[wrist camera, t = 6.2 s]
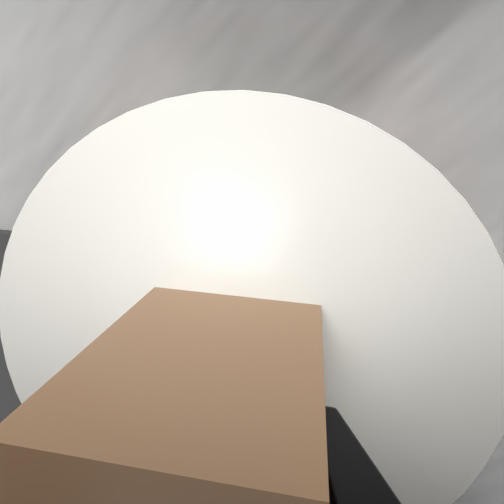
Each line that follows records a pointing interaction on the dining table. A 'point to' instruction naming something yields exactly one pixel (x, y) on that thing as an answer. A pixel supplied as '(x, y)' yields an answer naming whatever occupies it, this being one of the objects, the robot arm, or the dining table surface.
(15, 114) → the dining table surface
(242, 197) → the lid
